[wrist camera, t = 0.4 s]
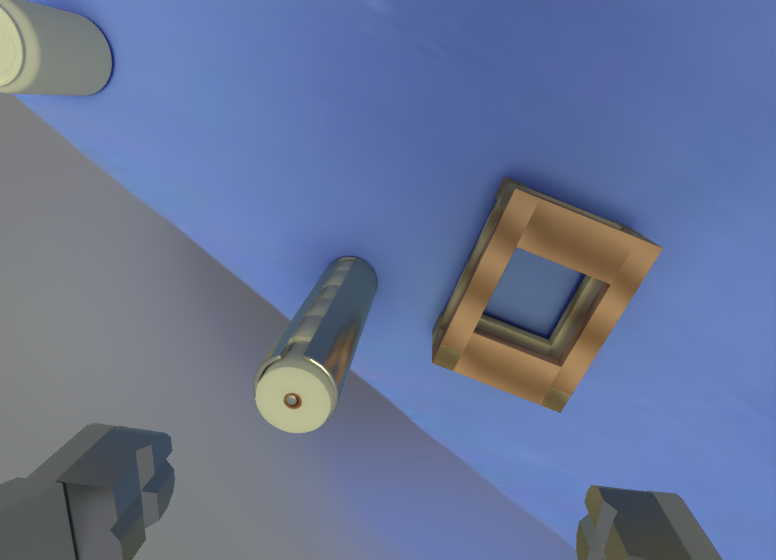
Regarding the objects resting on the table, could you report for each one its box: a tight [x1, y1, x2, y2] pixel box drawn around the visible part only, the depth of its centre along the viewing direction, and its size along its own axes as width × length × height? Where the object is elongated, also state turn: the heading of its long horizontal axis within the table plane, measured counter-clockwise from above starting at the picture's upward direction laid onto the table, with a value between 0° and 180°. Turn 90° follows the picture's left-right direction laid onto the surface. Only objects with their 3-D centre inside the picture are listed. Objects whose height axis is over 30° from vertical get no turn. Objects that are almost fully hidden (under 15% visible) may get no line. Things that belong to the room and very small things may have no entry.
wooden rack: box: [432, 177, 663, 413], centre depth 52 cm, size 20×15×8 cm
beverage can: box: [0, 0, 112, 96], centre depth 47 cm, size 8×8×12 cm
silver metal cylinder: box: [253, 256, 377, 433], centre depth 46 cm, size 6×6×25 cm
